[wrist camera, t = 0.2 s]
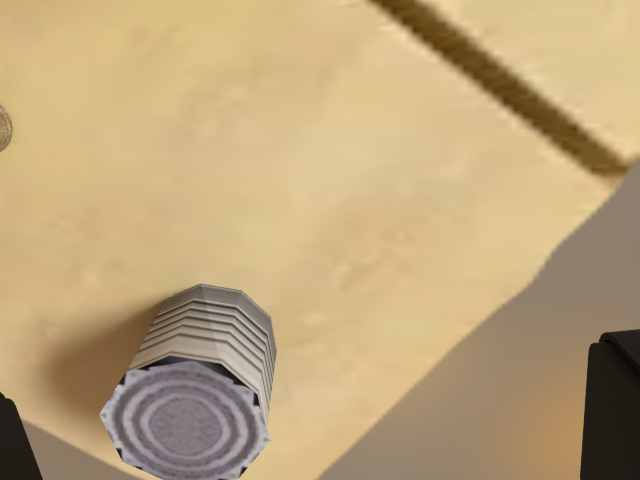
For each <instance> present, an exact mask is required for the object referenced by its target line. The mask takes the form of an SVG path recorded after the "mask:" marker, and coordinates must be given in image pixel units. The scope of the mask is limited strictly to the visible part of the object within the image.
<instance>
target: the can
mask: <svg viewBox="0 0 640 480" xmlns="http://www.w3.org/2000/svg"><path fill="white" fill-rule="evenodd" d="M276 352H277V350H276V344H275V339H274V333H273V328H272V322H271V317H270V316H269V315H268V314H267V313H266V312H265V311H264V310H262V309H261V308H260V307H259V306H258V305H257V304H256V303H255V302H254V301H253V300H251V299H250V298H249V297H248V296H247V295H246V294H245V293H244V292H243V291H241V290H235V289H229V288H223V287H217V286H211V285H205V284H199V285H197V286H195V287H193V288H190V289H188V290H186V291H183V292H181V293H179V294H177V295H174V296H172V297H170V298H168V299H166V300H165V302H164V303H163V305H162V307H161V309H160V311H159V313H158V315H157V316H156V318H155V320H154V322H153V324H152V326H151V328H150V329H149V331H148V333H147V335H146V337H145V339H144V341H143V343H142V344H141V346H140V348H139V350H138V352H137V354H136V356H135V357H134V359H133V361H132V363H131V365H130V367H129V369H128V370H127V372H126V373H125V375H124V376H123V378H122V379H121V381H120V383H119V384H118V386H117V387H116V389H115V390H114V392H113V394H112V395H111V397H110V398H109V400H108V401H107V403H106V404H105V406H104V408H103V409H102V411H101V412H100V414H99V416H100V418H101V420H102V422H103V423H104V425H105V427H106V429H107V431H108V433H109V435H110V437H111V439H112V441H113V443H114V445H115V447H116V449H117V451H118V453H119V455H120V457H121V459H122V461H123V462H125V463H127V464H129V465H131V466H134V467H136V468H138V469H141V470H143V471H145V472H147V473H150V474H152V475H154V476H156V477H159V478H161V479H163V480H231V479H238V478H239V477H240V476H241V475H242V474H243V473H244V471H245V470H246V469H247V468H248V467H249V465H250V464H251V463H252V462H253V461H254V460H255V458H256V457H257V456H258V455H259V454H260V452H261V451H262V450H263V449H264V448H265V446H266V445H267V444H268V443H269V442H270V441H271V440H270V437H269V434H268V431H267V422H268V414H269V406H270V398H271V391H272V383H273V375H274V367H275V360H276Z"/></svg>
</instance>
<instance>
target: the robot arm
mask: <svg viewBox="0 0 640 480" xmlns="http://www.w3.org/2000/svg"><path fill="white" fill-rule="evenodd" d="M582 442H583V443H582V456H581V470H580V479H581V480H640V329H639V330H627V331H617V332H606V333H604V334H602V335H601V337H600V340H599V343H593V344H591V345H590V348H589V355H588V368H587V383H586V398H585V412H584V428H583V441H582ZM0 480H43V478H42V476H41V473H40V470H39V468H38V465H37V462H36V459H35V457H34V454H33V451H32V449H31V446H30V443H29V441H28V438H27V435H26V432H25V430H24V427H23V424H22V422H21V419H20V416H19V413H18V411H17V408H16V406H15V404H14V402H13V401H12V400H11V399H8V398H5V396H4V395H3V394H2V393H1V392H0Z"/></svg>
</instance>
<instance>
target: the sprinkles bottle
mask: <svg viewBox="0 0 640 480" xmlns="http://www.w3.org/2000/svg"><path fill="white" fill-rule="evenodd" d="M11 137H12V123H11V121H10V119H9V116H8V114H7V112H6V111H5V110H4V108H3V107H2V106H1V105H0V152H1V151H2V150H4V149H5V148H6V147H7V146H8V145H9V143H10V141H11Z"/></svg>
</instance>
